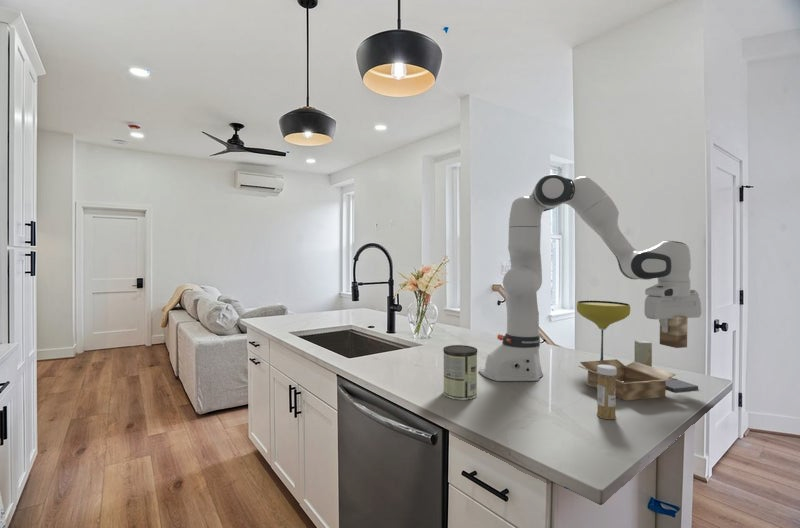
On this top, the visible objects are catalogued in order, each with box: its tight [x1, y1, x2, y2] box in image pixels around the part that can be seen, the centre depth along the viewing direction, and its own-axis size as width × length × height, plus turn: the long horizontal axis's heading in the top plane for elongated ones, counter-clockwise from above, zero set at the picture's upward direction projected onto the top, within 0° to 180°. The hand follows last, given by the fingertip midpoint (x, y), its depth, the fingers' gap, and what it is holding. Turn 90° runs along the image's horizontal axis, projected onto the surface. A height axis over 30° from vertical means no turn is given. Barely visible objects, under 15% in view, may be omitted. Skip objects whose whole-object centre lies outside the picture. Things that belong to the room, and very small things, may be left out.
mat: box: [666, 377, 699, 392], centre depth 131 cm, size 10×10×1 cm
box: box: [634, 339, 653, 367], centre depth 147 cm, size 5×4×11 cm
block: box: [659, 316, 689, 349], centre depth 130 cm, size 4×6×10 cm
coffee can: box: [442, 344, 478, 401], centre depth 121 cm, size 10×10×14 cm
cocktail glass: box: [576, 300, 631, 361], centre depth 150 cm, size 18×18×25 cm
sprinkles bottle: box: [596, 365, 617, 420], centre depth 105 cm, size 5×5×13 cm
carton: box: [578, 359, 678, 401], centre depth 126 cm, size 23×23×6 cm
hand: (673, 331), depth 130 cm, fingers closed on block, 4 cm apart
